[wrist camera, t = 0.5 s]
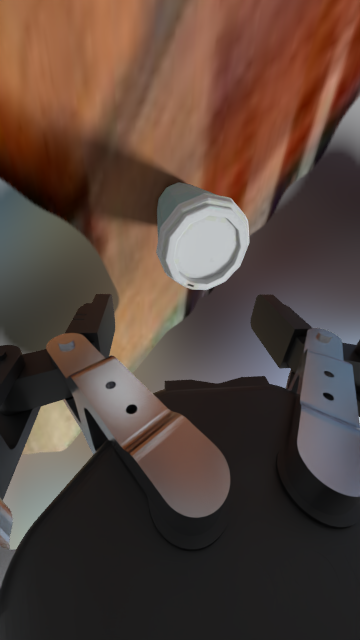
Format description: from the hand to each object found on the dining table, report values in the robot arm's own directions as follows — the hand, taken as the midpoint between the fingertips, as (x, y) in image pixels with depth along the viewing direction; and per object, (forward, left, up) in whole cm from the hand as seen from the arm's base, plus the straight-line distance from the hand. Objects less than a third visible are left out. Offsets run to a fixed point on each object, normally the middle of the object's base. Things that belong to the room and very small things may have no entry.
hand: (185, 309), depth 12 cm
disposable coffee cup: (+6, +2, -27) cm, 28 cm away
